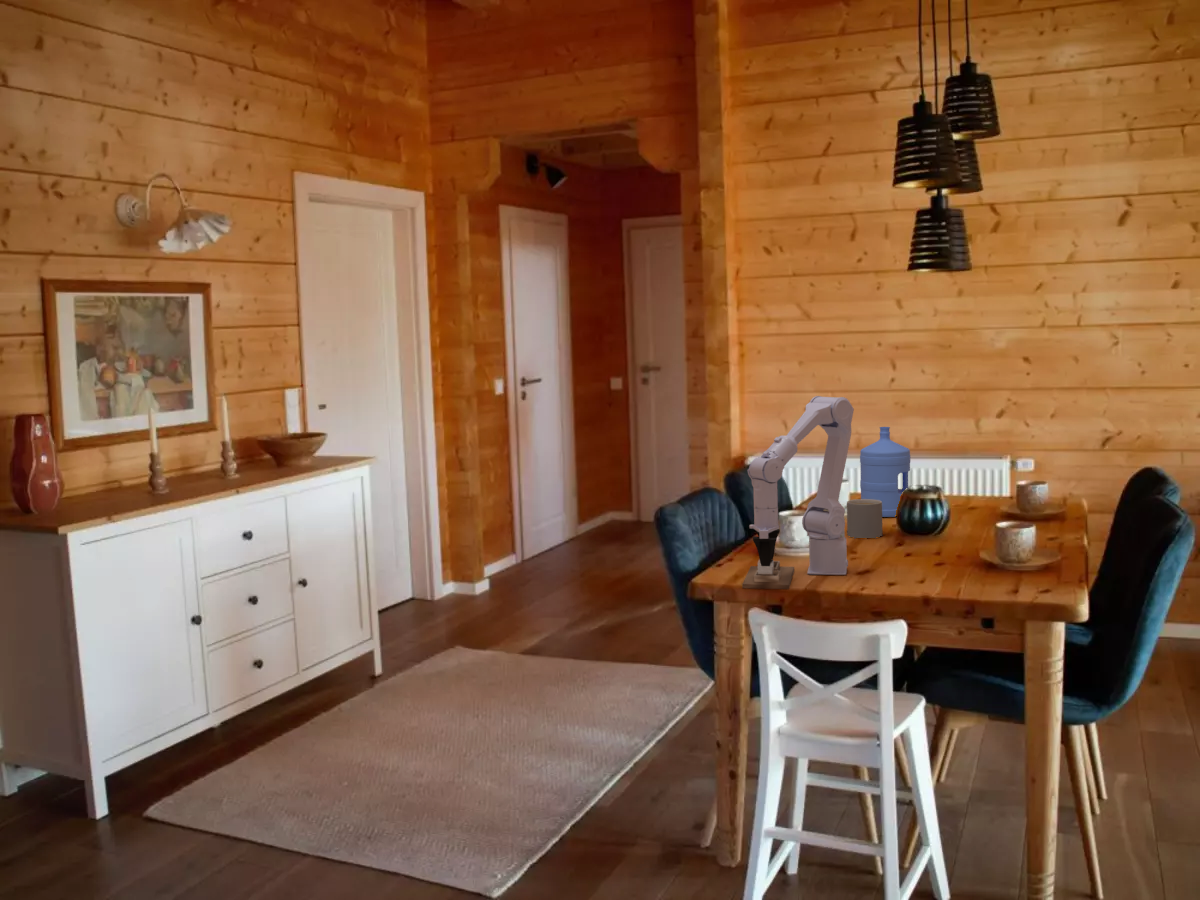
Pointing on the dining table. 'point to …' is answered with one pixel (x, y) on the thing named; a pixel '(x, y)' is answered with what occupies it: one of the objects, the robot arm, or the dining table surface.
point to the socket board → (769, 578)
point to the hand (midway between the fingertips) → (767, 562)
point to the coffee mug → (864, 518)
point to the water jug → (884, 472)
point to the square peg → (766, 569)
